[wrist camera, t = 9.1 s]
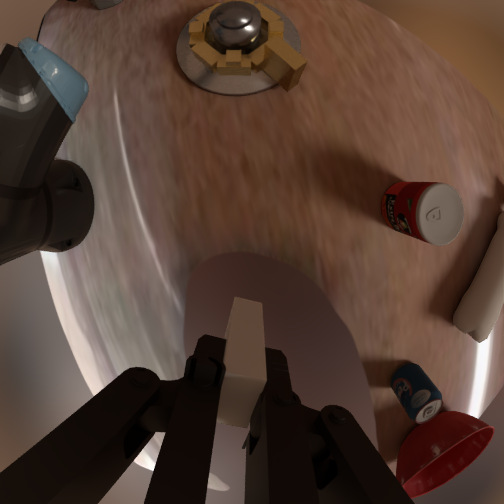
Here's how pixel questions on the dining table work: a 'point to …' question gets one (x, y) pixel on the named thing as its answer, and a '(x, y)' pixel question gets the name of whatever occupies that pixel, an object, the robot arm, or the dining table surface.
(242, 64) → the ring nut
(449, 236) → the canned food
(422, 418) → the soda can
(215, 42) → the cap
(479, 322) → the bottle
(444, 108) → the dining table surface
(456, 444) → the mixing bowl
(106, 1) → the coffeepot
